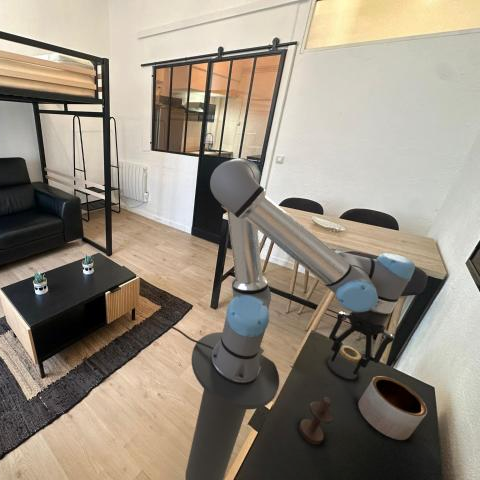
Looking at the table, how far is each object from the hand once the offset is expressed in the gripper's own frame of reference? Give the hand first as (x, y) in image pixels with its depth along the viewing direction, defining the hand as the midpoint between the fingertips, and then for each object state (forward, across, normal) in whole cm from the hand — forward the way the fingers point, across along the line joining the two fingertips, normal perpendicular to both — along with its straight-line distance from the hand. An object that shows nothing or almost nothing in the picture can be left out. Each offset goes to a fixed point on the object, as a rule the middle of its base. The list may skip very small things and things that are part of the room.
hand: (344, 365), depth 80 cm
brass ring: (-5, 0, 0) cm, 5 cm away
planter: (+2, +11, -10) cm, 15 cm away
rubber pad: (+2, 0, 0) cm, 2 cm away
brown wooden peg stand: (+2, -1, -29) cm, 29 cm away
